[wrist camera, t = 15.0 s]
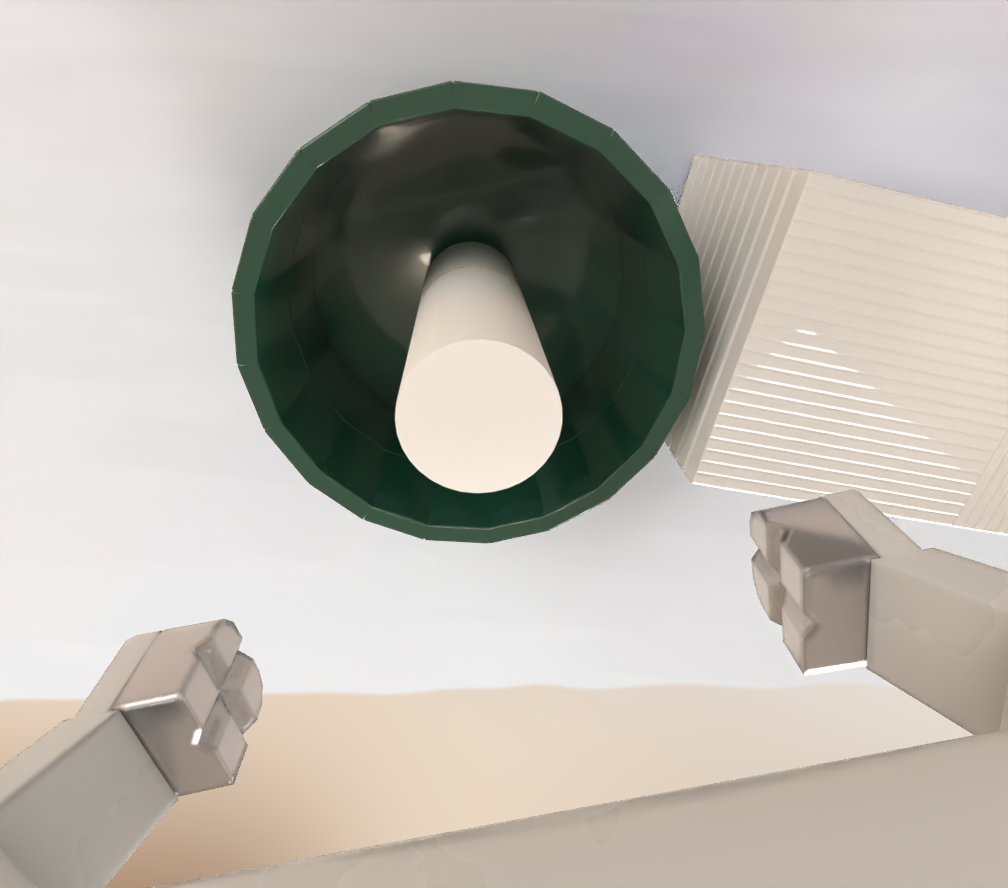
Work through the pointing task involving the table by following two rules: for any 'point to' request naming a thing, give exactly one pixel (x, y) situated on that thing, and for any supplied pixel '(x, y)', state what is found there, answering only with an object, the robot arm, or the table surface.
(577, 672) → the table surface
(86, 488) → the table surface
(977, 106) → the table surface
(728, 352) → the cream long block
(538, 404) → the tube
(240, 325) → the pot
